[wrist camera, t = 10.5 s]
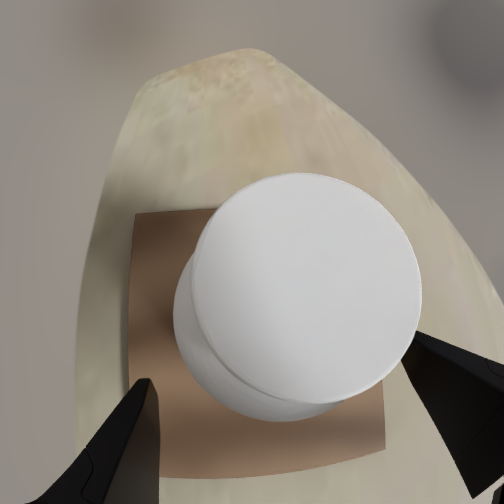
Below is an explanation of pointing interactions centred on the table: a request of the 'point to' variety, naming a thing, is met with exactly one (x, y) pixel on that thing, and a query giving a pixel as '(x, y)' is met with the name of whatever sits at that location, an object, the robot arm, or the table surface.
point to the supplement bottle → (296, 297)
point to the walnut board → (203, 404)
